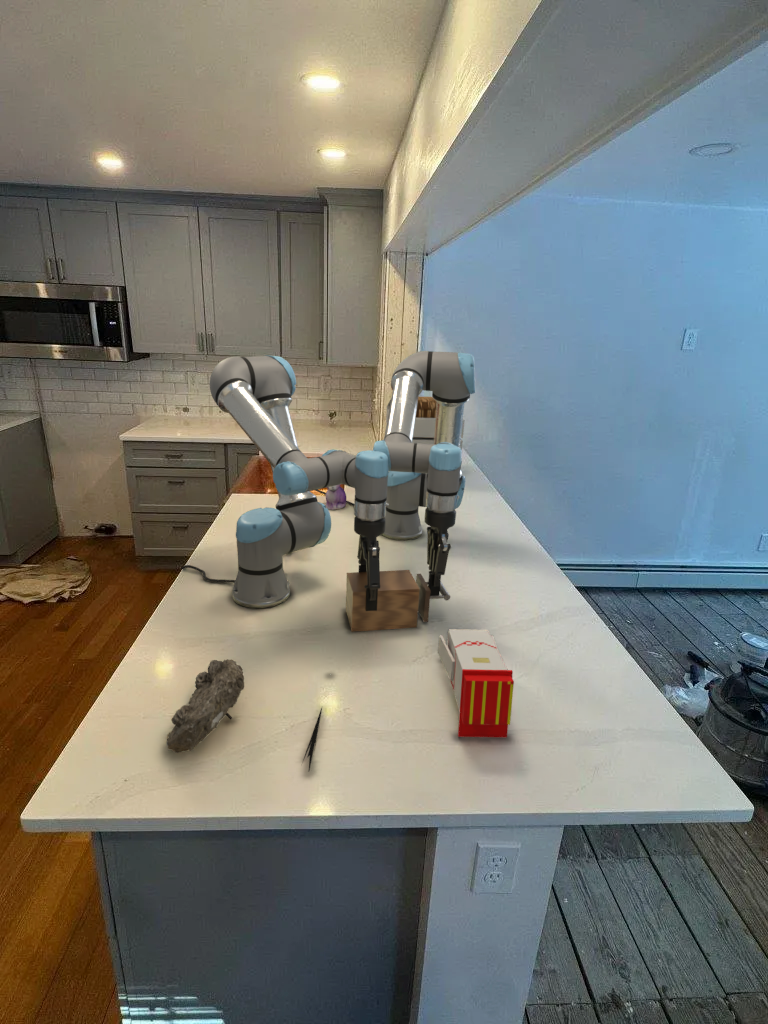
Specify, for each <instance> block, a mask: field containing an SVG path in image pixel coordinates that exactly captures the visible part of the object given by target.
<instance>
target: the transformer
mask: <svg viewBox="0 0 768 1024" xmlns="http://www.w3.org/2000/svg"><path fill="white" fill-rule="evenodd" d="M390 403H391V399H390V400H389V402H388V404H387V405H386V413H385V414H386V415H385V423H386V424H387V419H388V414H389V409H390ZM436 404H437V402H436V401H435V400H434V399H433V397H432V396H418V403H417V410H416V418H415V425H414V433H413V440H412V443H420V444H434V433H435V418H436ZM464 429H465V419H464V418H463V422H462V432H461V442H460V449H461V451H462V452H463V442H464V441H463V440H462V439H463V438H464V431H465V430H464ZM460 470H461V471H462V468H461V469H460Z"/></svg>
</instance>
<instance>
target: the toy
mask: <svg viewBox="0 0 768 1024" xmlns="http://www.w3.org/2000/svg"><path fill="white" fill-rule="evenodd" d="M446 640H447V643H446V641H445V639H444V636H443V635H442V634H439V637H438V646H437V656H438V657H439V659H440V661H441V663H442V666H443V668H444V670H445V672H446V674H447V677H448V679H449V681H450V684H451V687H452V690H453V693H454V697H455V701H456V705H457V708H458V711H459V714H458V715H459V716H458V730H457V731H458V732H457V737H458V738H508V731H509V726H510V725H511V717H512V707H513V697H514V696H513V695H514V684H515V680H514V679H513V673H514V671H513V670H512V669H508V667H507V665H506V662H505V661H504V659H503V658H502V655H501V653H500V651H499V649H498V647H497V643H496V639H495V637H494V635H493V634H491V632H490V631H489V629H467V628H466V629H465V628H463V629H461V628H460V629H459V628H448V630H447V639H446Z"/></svg>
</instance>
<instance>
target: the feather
mask: <svg viewBox="0 0 768 1024" xmlns="http://www.w3.org/2000/svg"><path fill="white" fill-rule="evenodd" d="M329 675H330V676H331V675H332V674H331V673H330V674H329ZM322 710H323V707H321V708H320V710H319V713H318V716H317V719H316V723H315V725H314V728H313V731H312V733H311V737H310V739H309V742H308V745H307V748H306V751H305V754H304V757H303V760H302V763H301V767H302V765H303V763H304V761H305V758H308V759H309V760H308V762H307V763H308V764H307V766H308V771H310V770H311V766H312V765H311V764H312V760H313V757H315V756H314V755H315V751H316V749H315V746H317V739H318V733H319V729H320V722H321V717H322V712H323V711H322ZM313 754H314V755H313ZM306 755H307V757H306Z"/></svg>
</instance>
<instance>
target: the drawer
mask: <svg viewBox="0 0 768 1024" xmlns="http://www.w3.org/2000/svg"><path fill="white" fill-rule="evenodd" d="M415 575H416V576H415V581H416V583H417V585H418V587H419V603H418V614H419V616H420V618H421V620H422V622H423V623H429V616H430V604H431V600H439V599H440V600H441V599H444V601H450V600H451V595H450V592H448V590H447V588H446V587H445V585H444V584H443V583H442V580H441V581H440V592H439V596H430V593H431V590H430V588H429V587H428V581H426V580H425V578H424V576H423V575H422V573H416V574H415ZM440 594H441V595H440ZM417 618H418V616H417Z"/></svg>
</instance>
